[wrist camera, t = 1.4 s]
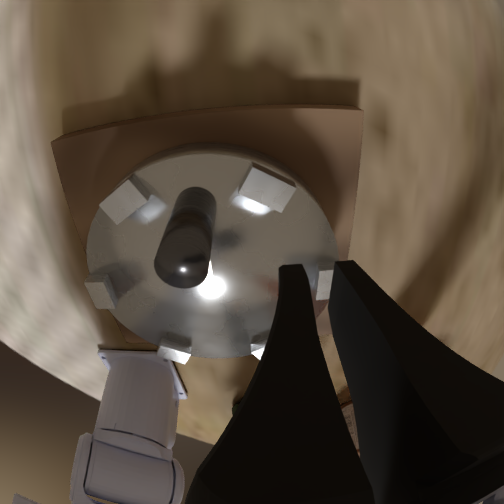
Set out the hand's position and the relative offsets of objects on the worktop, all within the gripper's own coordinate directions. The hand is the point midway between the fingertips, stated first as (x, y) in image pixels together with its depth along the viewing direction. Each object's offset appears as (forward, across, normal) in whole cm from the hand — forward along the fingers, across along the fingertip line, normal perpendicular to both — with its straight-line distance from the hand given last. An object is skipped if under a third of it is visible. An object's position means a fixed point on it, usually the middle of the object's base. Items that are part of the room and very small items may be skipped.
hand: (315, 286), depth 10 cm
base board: (+10, +4, +5) cm, 12 cm away
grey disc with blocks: (+9, +5, +5) cm, 11 cm away
